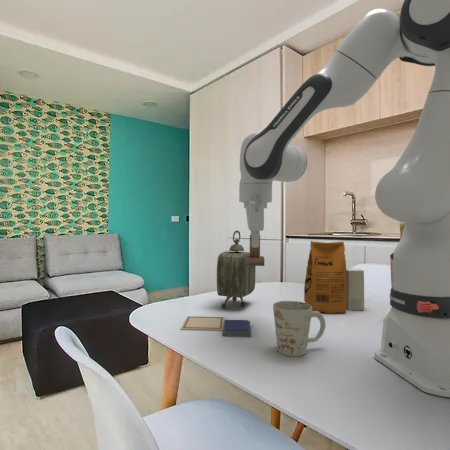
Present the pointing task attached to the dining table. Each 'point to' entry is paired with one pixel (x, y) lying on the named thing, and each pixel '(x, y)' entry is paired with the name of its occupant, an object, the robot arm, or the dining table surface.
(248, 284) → the tabletop clock
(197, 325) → the card
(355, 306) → the box
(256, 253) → the stamp
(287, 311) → the mug
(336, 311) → the coffee package
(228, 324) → the ink pad
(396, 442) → the dining table surface
